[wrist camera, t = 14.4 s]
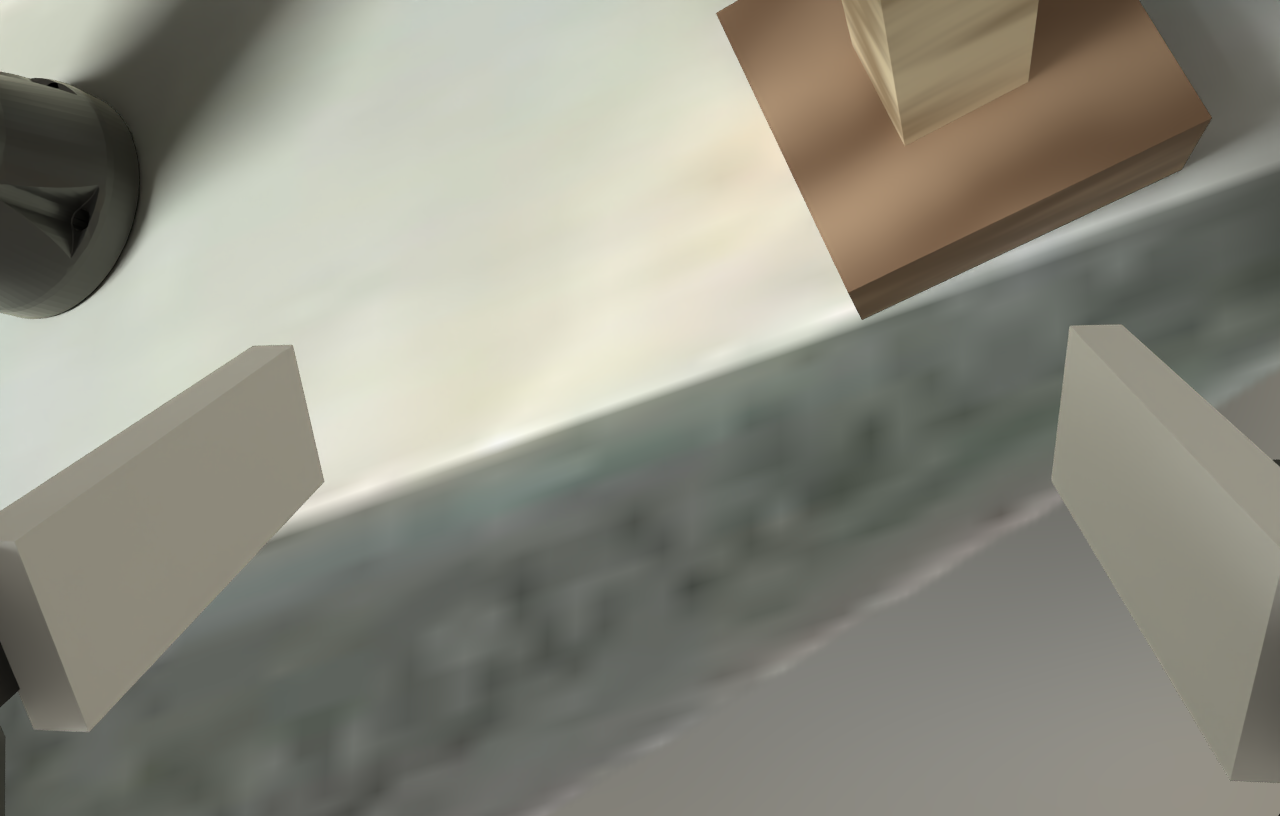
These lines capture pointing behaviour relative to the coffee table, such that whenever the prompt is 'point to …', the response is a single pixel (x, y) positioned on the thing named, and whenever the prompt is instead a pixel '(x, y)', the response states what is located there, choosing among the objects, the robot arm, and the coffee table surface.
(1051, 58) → the walnut block
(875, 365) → the coffee table surface
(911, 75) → the beech block
